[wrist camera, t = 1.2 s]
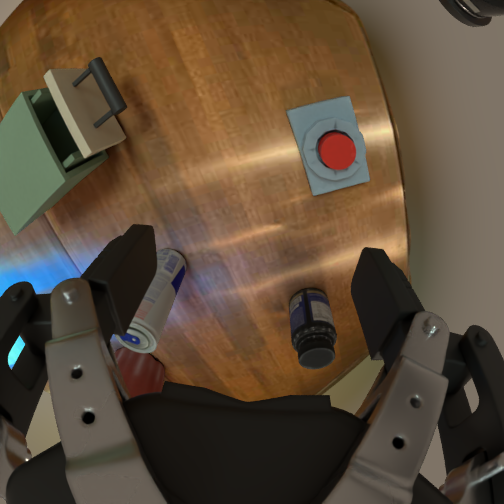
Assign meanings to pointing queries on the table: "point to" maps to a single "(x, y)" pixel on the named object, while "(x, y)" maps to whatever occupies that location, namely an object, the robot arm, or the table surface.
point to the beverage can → (155, 303)
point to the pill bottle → (312, 328)
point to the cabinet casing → (32, 167)
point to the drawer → (79, 112)
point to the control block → (318, 125)
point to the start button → (337, 150)
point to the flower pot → (140, 371)
